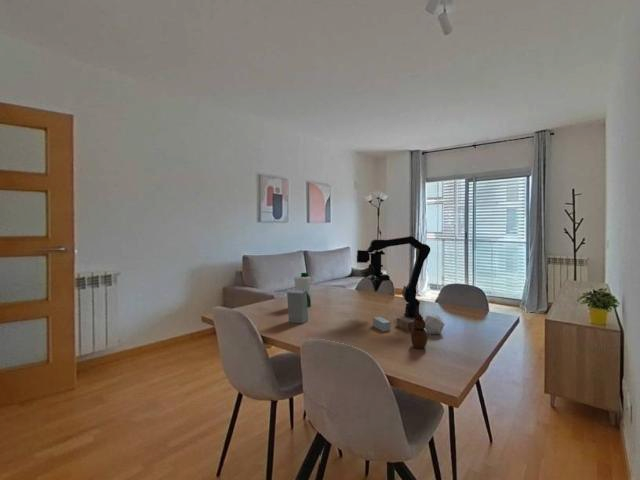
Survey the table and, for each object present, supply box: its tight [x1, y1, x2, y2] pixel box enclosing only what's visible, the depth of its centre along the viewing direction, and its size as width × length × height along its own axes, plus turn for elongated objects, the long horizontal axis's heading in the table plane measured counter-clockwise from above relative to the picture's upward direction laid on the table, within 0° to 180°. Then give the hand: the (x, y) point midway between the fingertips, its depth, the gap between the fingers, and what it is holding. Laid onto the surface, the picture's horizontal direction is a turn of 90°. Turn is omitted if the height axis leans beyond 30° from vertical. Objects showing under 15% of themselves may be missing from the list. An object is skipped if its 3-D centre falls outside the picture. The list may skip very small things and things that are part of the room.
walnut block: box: [396, 316, 414, 332], centre depth 163 cm, size 4×4×10 cm
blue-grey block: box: [372, 316, 391, 332], centre depth 163 cm, size 4×4×10 cm
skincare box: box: [286, 289, 309, 324], centre depth 174 cm, size 8×7×16 cm
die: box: [424, 315, 445, 335], centre depth 155 cm, size 8×9×10 cm
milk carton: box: [293, 272, 312, 308], centre depth 205 cm, size 9×9×20 cm
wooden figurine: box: [410, 309, 428, 349], centre depth 137 cm, size 7×6×15 cm
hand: (375, 291), depth 185 cm, fingers closed
